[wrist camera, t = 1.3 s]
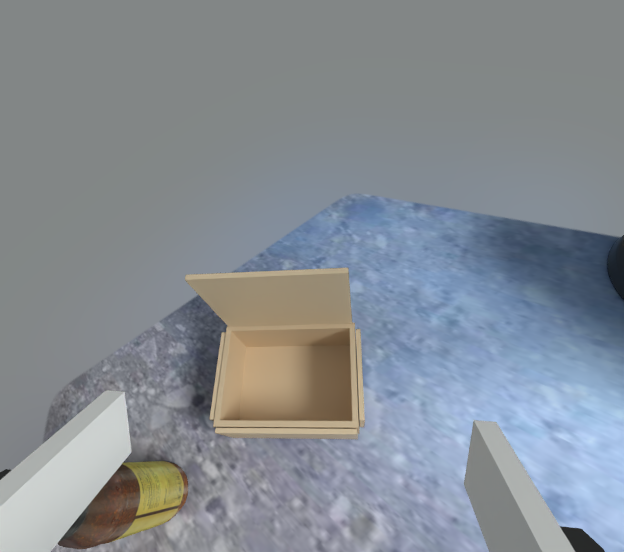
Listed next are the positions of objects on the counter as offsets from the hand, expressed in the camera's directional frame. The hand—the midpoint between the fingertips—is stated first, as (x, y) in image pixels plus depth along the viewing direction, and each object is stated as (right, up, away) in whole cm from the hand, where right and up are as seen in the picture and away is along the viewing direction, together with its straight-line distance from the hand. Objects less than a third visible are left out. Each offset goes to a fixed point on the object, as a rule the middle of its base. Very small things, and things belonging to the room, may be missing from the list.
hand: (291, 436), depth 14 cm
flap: (-2, 0, +28) cm, 29 cm away
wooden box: (-1, -8, +32) cm, 33 cm away
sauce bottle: (-16, -19, +28) cm, 38 cm away
